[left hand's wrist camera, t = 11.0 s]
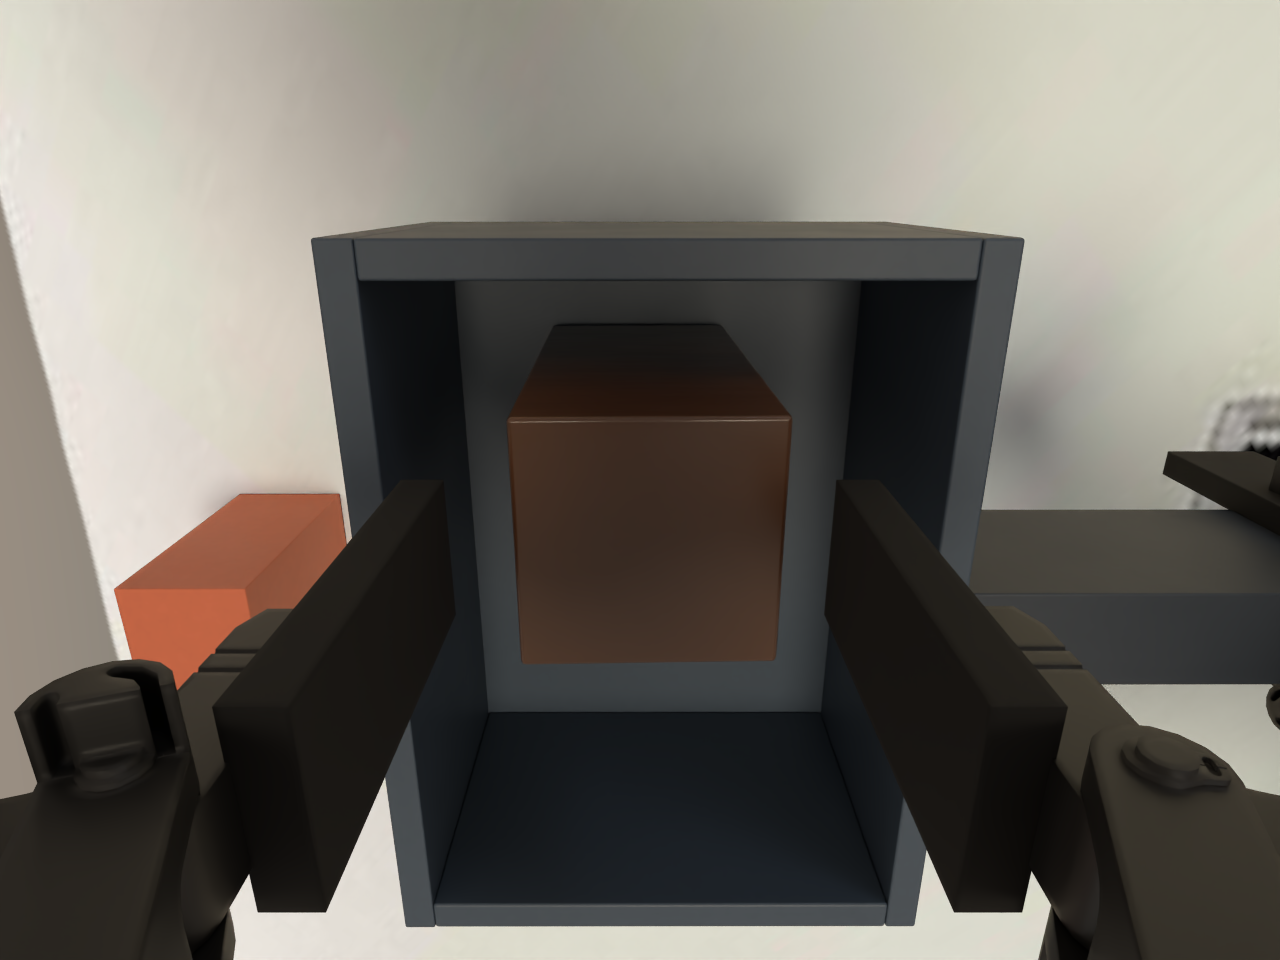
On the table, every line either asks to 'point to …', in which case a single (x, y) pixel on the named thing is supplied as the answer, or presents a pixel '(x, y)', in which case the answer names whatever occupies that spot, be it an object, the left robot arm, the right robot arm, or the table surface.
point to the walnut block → (647, 498)
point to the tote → (806, 649)
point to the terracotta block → (228, 575)
